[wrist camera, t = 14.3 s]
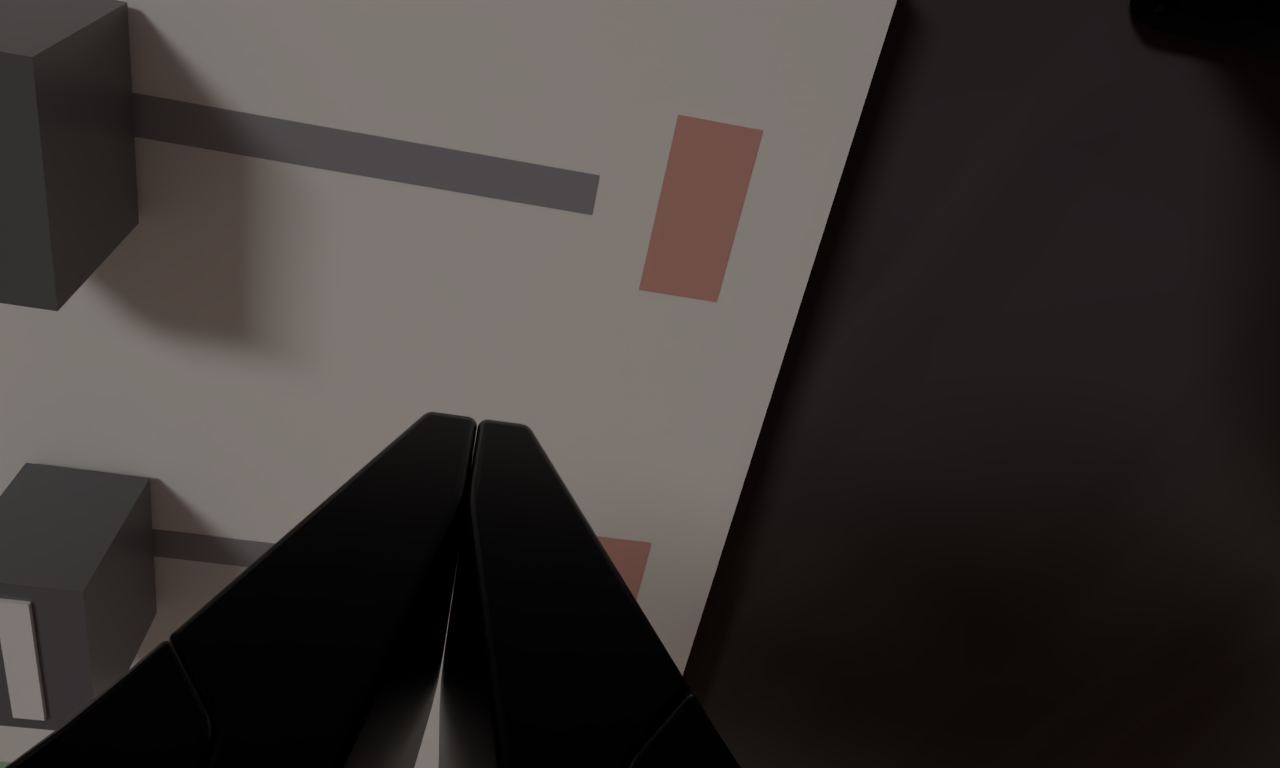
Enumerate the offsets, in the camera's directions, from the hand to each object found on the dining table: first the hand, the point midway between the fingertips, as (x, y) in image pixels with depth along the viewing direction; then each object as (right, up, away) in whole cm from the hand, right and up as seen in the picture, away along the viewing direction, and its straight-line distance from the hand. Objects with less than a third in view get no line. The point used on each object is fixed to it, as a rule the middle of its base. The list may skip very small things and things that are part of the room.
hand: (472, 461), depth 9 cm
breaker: (-9, +5, +9) cm, 14 cm away
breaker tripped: (-11, -3, +15) cm, 18 cm away
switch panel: (-7, -3, +17) cm, 18 cm away
